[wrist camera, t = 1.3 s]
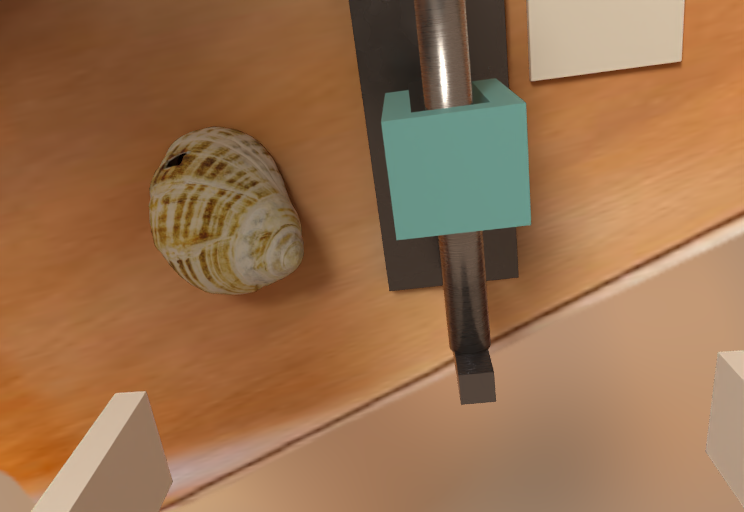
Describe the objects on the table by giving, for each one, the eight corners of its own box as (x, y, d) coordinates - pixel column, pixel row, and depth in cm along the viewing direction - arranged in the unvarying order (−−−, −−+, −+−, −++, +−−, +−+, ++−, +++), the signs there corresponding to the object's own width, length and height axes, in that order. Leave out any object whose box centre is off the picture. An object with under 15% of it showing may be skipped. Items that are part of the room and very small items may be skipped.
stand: (337, -91, 36) (292, -157, 20) (494, -116, 35) (569, -206, 20) (389, 283, 45) (385, 432, 29) (515, 270, 44) (578, 415, 29)
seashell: (153, 107, 40) (180, 152, 32) (293, 135, 45) (346, 180, 37) (129, 250, 43) (148, 323, 35) (261, 261, 48) (304, 328, 40)
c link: (385, 93, 32) (380, 122, 24) (495, 78, 31) (526, 102, 24) (397, 187, 33) (396, 240, 26) (501, 174, 33) (531, 225, 26)
